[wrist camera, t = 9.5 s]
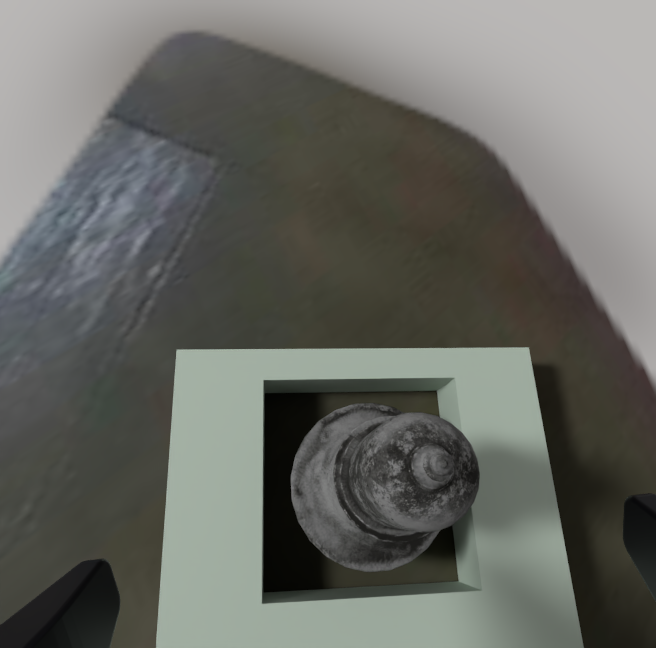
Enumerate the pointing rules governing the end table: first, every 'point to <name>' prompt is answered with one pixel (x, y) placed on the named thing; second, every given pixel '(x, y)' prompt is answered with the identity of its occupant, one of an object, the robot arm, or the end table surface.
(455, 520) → the grey stone chess bishop
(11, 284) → the end table surface
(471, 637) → the socket board
